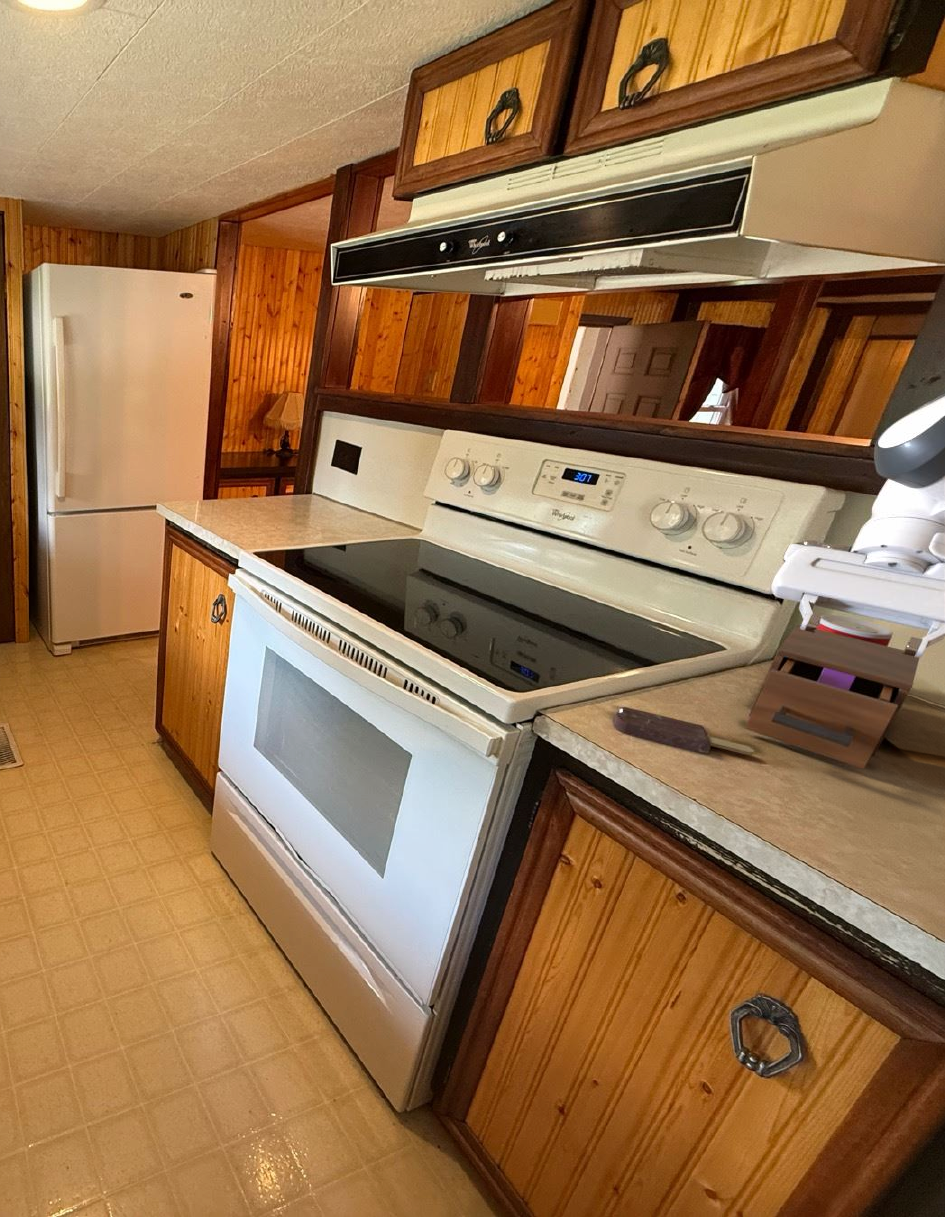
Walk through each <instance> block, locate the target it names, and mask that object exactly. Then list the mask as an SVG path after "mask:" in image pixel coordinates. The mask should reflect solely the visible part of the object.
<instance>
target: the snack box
mask: <svg viewBox="0 0 945 1217" xmlns="http://www.w3.org/2000/svg"><path fill="white" fill-rule="evenodd" d="M855 677H856V676H853V675H850V674H846V673H842V672H839V671H835V670H832V669H828V668H824V669H823V671H822V673H821V675H820V677H819V679H818V681H817V682H819V683H823V684H826V685H830V686H833V687H837V688H840V689H844V690H848V691H849V689H850V687H851V685H852V683H853V681H854V679H855Z"/></svg>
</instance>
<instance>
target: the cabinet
mask: <svg viewBox="0 0 945 1217" xmlns="http://www.w3.org/2000/svg"><path fill="white" fill-rule="evenodd" d="M801 625H802V624H797V625H796V626H795V627H794V629H793V630H792V631H791V633H790V634H789V635H788V637H787V638H786V639H785V640H784V642H783V643H782V644H781V646H779V648H778V650H777V652H776V654H775V656H774V658H773V661H772V663H771V665H770V667H769V669H768V671H767V673H766V676H765V678H764V680H763V683H762V685H761V687H760V690H759V692H758V693H757V696H756V698H755V700H754V703H753V704H752V707H751V709H750V711H749V713H748V716H749V717H750V716H751V714H752V712H753V710H754V707H755V705H756V703H757V701H758V698H759V696H760V694H761V692H762V690H763V687H764V685H765V683H766V681H767V678H768V676H769V674H770V672H771V670H772V669H774V670H777V671H780V670H781V669H782V668H783V666H784V665H785V663H786V662H787V661H788V659H789V658H790V659H794V660H798V661H801V662H805V663H809V664H812V665H816V666H820V667H823V668H828V669H832V670H835V671H839V672H842V673H846V674H850V675H853V676H856V677H860V678H864V679H867V680H871V681H875V682H878V683H882V684H886V685H889V686H893V687H894V688H893V691H892V695H891V698H890V701H889V702H890V703H893V704H897V705H898V706H897V709H896V711H895V713H894V714H893V716H892V718H891V720H890V722H889V724H888V725H887V727H886V729H885V731H884V733H883V735H882V736H881V738H880V740H879V742H878V744H877V746H876V747H875V749H874V751H873V753H872V755H871V757H875V756H876V753H877V752H878V750H879V748H880V746H881V744H882V742H883V741H884V739H885V737H886V735H887V733H888V731H889V730H890V728H891V726H892V724H893V722H894V721H895V719H896V718H897V717H896V716H897V714H898V713H899V712H900V709H901V708H902V706H903V705H904V702H905V700H906V699H907V697H908V695H909V693H910V691H911V689H912V688H913V685H914V681H915V677H916V674H917V670H918V665H919V661H920V658H918V657H914V656H910V655H906V654H903V652H904V650H905V649H899V648H895V647H892V646H889V645H888V646H884V645H880V644H875V643H871V642H867V641H863V640H859V639H855V638H851V637H847V636H843V635H838V634H834V633H830V632H826V631H822V630H818V629H816V631H815V633H813V632H809V631H805V630H801V629H800V628H801Z"/></svg>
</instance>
